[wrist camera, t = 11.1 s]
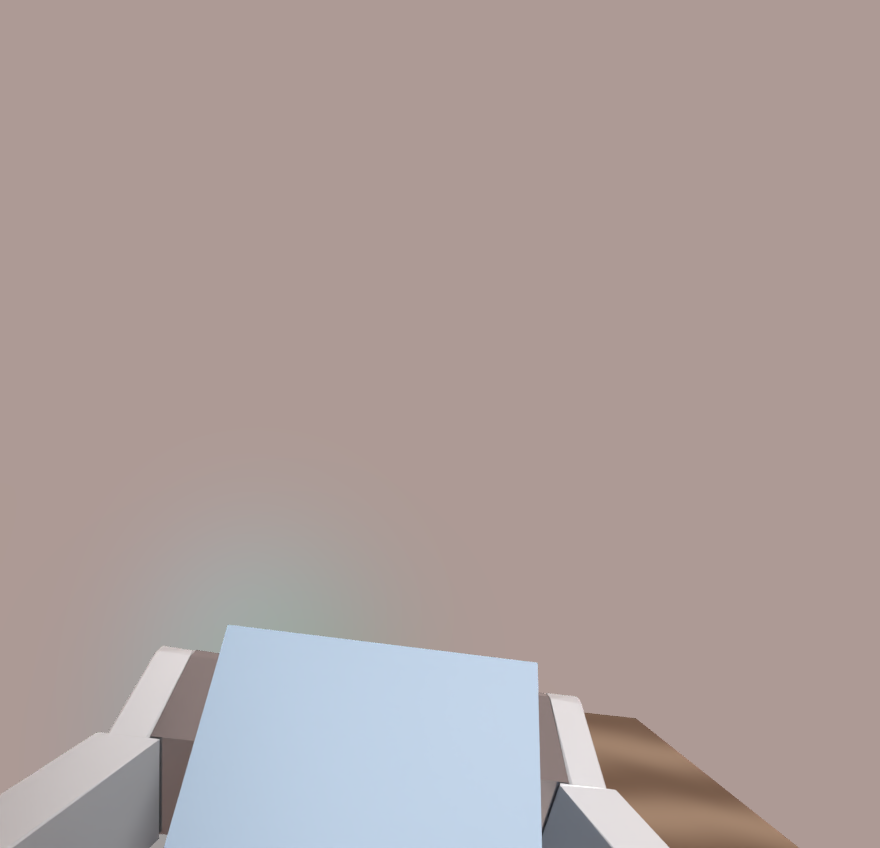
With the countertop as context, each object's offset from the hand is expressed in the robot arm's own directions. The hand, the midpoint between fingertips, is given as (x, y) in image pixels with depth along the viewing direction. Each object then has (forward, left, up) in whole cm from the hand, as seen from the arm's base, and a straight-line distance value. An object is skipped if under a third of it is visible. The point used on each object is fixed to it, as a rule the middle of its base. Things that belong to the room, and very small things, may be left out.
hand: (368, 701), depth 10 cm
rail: (-4, +4, -7) cm, 9 cm away
